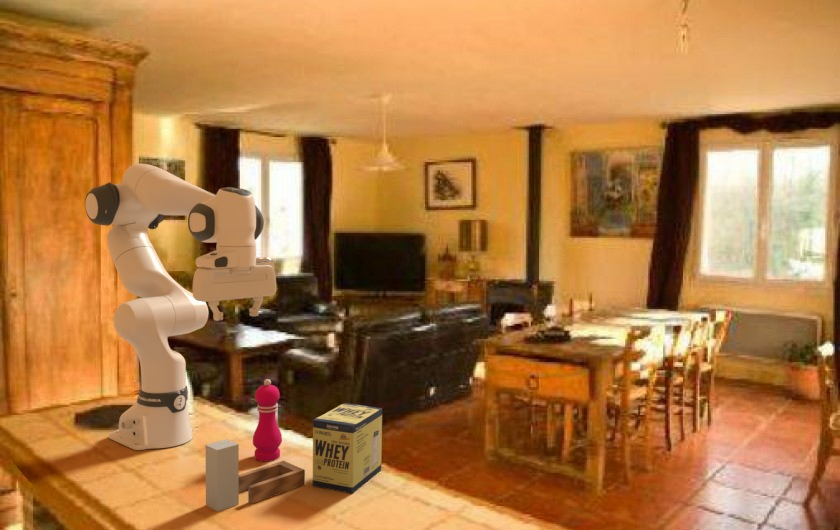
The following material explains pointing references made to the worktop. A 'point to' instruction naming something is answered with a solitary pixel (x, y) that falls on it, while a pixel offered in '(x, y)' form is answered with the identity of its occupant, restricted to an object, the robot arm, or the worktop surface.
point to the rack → (271, 480)
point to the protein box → (347, 447)
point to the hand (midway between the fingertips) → (236, 318)
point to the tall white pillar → (222, 475)
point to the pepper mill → (267, 423)
